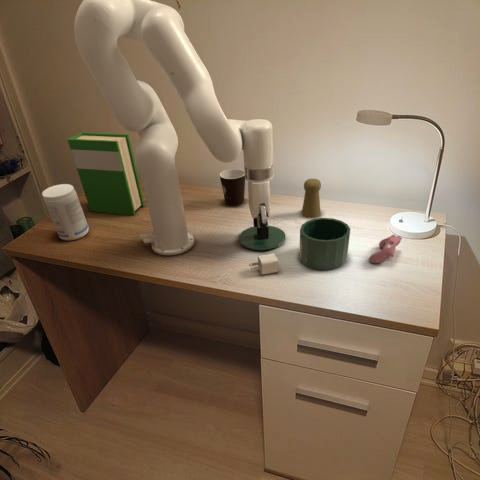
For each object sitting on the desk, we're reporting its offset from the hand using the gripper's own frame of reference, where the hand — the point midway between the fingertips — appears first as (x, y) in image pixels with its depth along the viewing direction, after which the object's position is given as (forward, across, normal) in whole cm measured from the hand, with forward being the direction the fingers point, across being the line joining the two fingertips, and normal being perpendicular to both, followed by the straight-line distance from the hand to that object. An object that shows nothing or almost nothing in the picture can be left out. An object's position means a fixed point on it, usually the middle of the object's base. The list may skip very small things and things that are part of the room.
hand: (261, 232), depth 120 cm
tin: (+3, +13, +15) cm, 20 cm away
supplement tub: (+3, -17, -58) cm, 61 cm away
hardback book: (+3, -33, -46) cm, 57 cm away
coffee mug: (+3, -29, -5) cm, 30 cm away
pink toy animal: (+3, +16, +31) cm, 35 cm away
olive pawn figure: (+3, -13, +18) cm, 22 cm away
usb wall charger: (+3, +16, -2) cm, 17 cm away
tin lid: (+2, 0, 0) cm, 2 cm away
